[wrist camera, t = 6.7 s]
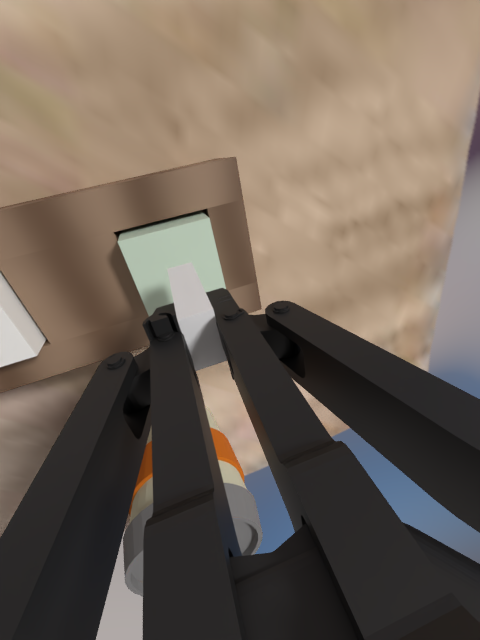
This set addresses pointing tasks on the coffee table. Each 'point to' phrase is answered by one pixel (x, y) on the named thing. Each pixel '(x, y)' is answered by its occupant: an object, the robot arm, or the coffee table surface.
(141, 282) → the sage key
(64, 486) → the robot arm
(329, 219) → the coffee table surface
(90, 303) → the key panel
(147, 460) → the reusable coffee cup
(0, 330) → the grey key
